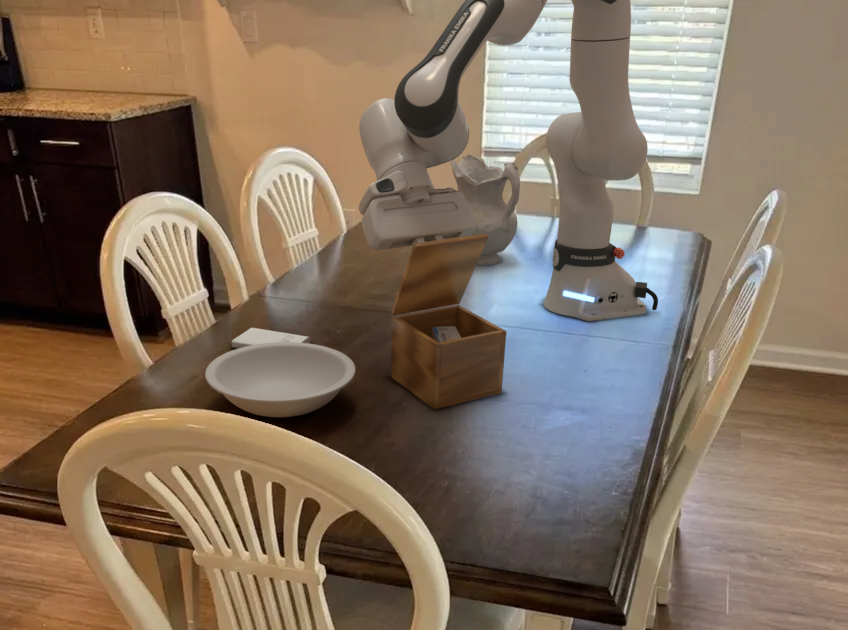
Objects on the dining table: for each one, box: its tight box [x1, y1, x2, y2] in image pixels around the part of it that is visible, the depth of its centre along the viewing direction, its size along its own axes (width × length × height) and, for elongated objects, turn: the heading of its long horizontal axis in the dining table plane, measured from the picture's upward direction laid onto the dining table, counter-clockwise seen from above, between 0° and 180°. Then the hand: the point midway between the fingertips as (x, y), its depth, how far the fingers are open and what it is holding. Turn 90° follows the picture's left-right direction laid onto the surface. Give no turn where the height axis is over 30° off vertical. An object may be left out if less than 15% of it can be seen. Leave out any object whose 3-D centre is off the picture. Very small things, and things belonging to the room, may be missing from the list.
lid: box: [390, 234, 488, 316], centre depth 143 cm, size 16×14×1 cm
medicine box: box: [431, 326, 461, 342], centre depth 147 cm, size 8×4×9 cm, turn 9°
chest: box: [390, 304, 507, 410], centre depth 147 cm, size 15×14×11 cm
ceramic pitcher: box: [450, 154, 521, 266], centre depth 212 cm, size 22×20×25 cm
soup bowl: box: [204, 342, 356, 418], centre depth 139 cm, size 24×24×7 cm
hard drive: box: [231, 327, 311, 349], centre depth 163 cm, size 2×8×12 cm
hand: (436, 264), depth 143 cm, fingers closed
